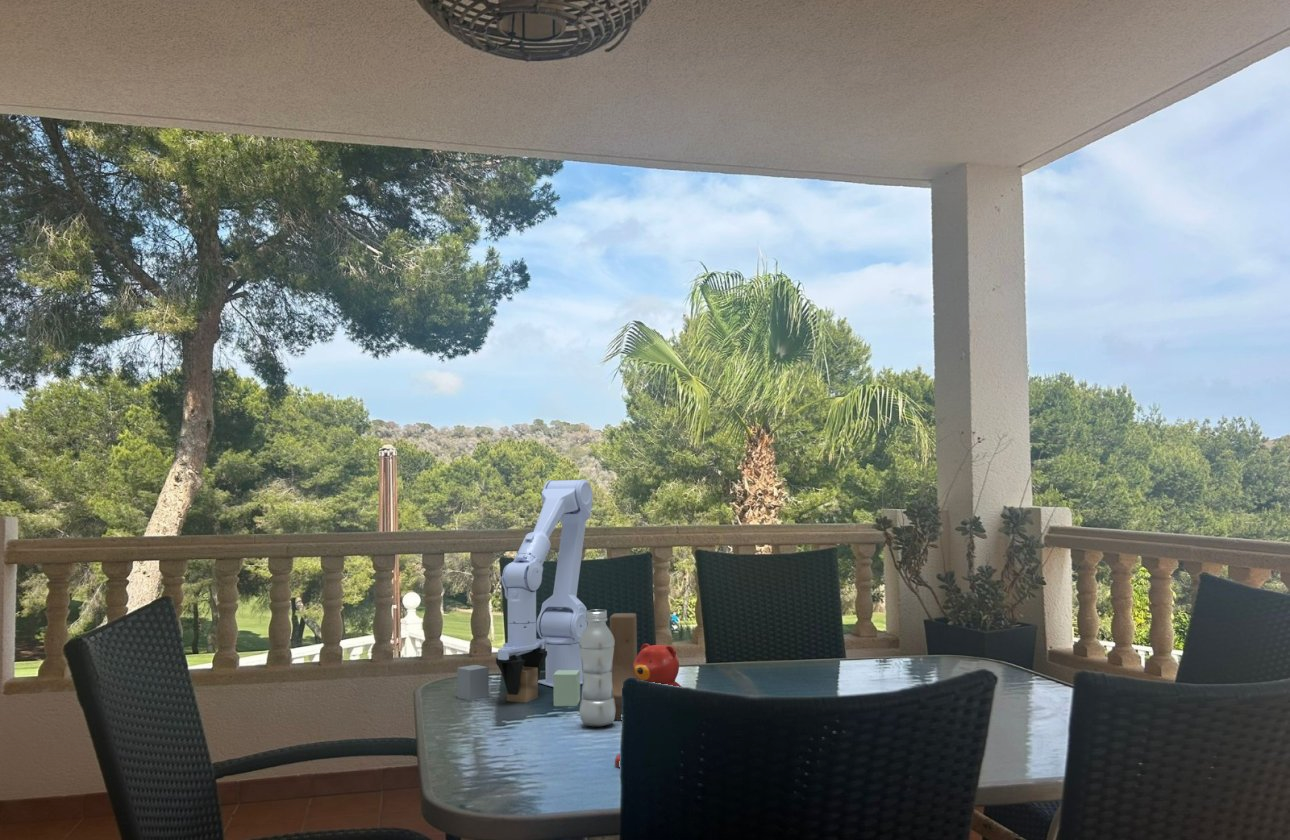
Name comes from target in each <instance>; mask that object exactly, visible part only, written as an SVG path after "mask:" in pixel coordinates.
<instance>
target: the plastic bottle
mask: <svg viewBox="0 0 1290 840" xmlns="http://www.w3.org/2000/svg"><path fill="white" fill-rule="evenodd" d="M586 622H587V626H586V628H585V629H584V631H583V633H582V634H581V636H580V640H579V647H580V654H581V661H582V671H583V674H582V675H583V684H581V685H582V687H581V698H580V702H579V703H580V704H579V717H580V721H581V722H582V724H583V725H585V726H589V727H595V728H600V727H605V726H608V725H611V724H613V723H614V721H615V720H614V719H615V714H616V705H615V700H614V697H613V696H614V695H613V684H612V662H613V653H614V645H615V640H614V636H613V634H612V632H611V631H610V627H609V626H608V625H607V623H606V622H608V614H607V609H589V610H588V609H587V610H586Z"/></svg>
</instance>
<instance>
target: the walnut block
mask: <svg viewBox="0 0 1290 840" xmlns="http://www.w3.org/2000/svg"><path fill="white" fill-rule="evenodd" d="M538 680H539V679H538V668H535V667H524V666H523V667H522V670H521V675H520V686H519V692H518V695H510V694H508V693H507V692H506V701H509V702H515V703H516V702H517V703H518V702H519V703H528V702H531V701H534V700H535V699H538V698H539V683H538Z"/></svg>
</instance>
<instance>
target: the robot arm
mask: <svg viewBox="0 0 1290 840" xmlns="http://www.w3.org/2000/svg"><path fill="white" fill-rule="evenodd" d="M593 498H594V493H593V490H592V487H591V484H590V482H589V481H588V480H587V479H585V478H582V479H565V480H553V479H548V480H547V481H546V482H545V483H544V486H543V488H542V491H541V501H542V507H541V509H540V513H539V515H538V519H537V521H536V523H535V526H534V530H533V531H532V532H528V533H527V534H526V535H525V536H524V538H523V541H522V543H521V545H520V546H519V549H518V551H517V553H516V555H515V557H514V559H513V561H512V562H510V563H507V564H506V565H505V566H504V568H503V571H502V574H501V575H502V576H501V577H500V578H501V579H500V580H501V585H502V587H503V589H504V597H505V599H506V600H507V642H505V643H503V645H502V646H503V647H501V648H499V649H497V657H496V658H495V663H496V665H497V667H498V669H499V670H500V672H501V675H502V677H503V681H504V685H505V689H506V694H507V693H508V694H510V695H518V692H519V686H520V675H521V670H522V667H535V668H538V684H542V685H543V686H544V685H545V686H548V687H552V688H553V674H554V673H555V672H556V671H557V670H580V685H582V684H583V675H582V674H583V671H582V661H581V654H580V647H579V640H580V636H581V634H582V633H583V631H584V629H585V628H586V626H587V625H588V622H586V618H587V610H588V609H587V607H586V605H585V604H584V603H583V602H582V601H581V600H580V599H579V597H577V596H578V588H579V587H578V586H579V580H580V579H579V578H580V571H581V565H582V564H581V563H582V556H583V548H584V539H585V533H586V525H587V524H586V523H587V521H588V520H589V519H591V513H592V507H593V500H594V499H593ZM559 521H560V523H561V526H562V527H561V533H560V541H559V549H558V556H557V563H556V569H555V577H554V585H553V586H554V587H553V593H552V595H551V596H550V597H548V598H547V599H546V600H545V601H543V602H542V604H541V607H540V608H541V610H540V611H539V615H538V617H537V590H538V589H539V588H540V586H541V584H542V580H543V572H544V566H543V565H544V562H545V560H546V558H547V555H548V553H549V551H550V549H551V547H552V544H551V540H550V539H549V538H550V537H551V536H552V534H553V532H554V530H555V528H556V527H557V525H558V523H559ZM537 633H538V636H539V637H540V638H537ZM544 649H545V650H544ZM517 656H520V658H519V659H518V657H517ZM544 662H545V679H540V675H541V674H540V673H541V670H542V667H543V664H544Z"/></svg>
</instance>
